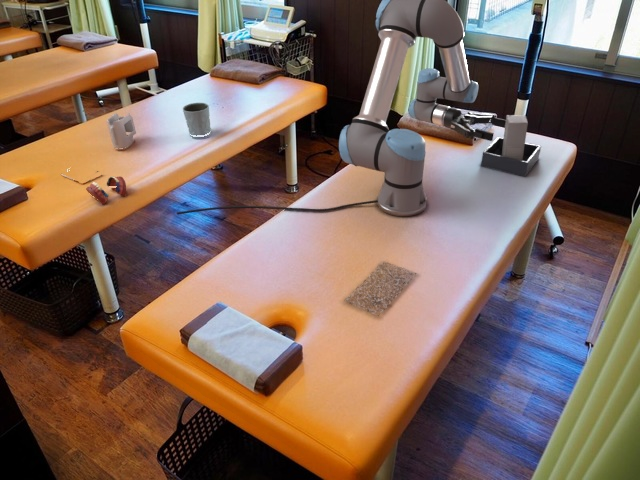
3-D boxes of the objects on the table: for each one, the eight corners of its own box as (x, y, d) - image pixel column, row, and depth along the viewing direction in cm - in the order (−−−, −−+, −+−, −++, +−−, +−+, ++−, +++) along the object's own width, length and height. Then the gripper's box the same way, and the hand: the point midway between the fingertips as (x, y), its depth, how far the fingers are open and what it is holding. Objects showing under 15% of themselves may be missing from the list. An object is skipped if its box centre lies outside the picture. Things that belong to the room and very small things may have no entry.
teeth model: (126, 176, 175) (92, 190, 168) (131, 193, 179) (97, 207, 172) (114, 169, 180) (80, 182, 174) (119, 186, 184) (86, 199, 177)
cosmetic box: (521, 166, 186) (530, 123, 177) (500, 165, 187) (508, 122, 178) (519, 156, 193) (527, 114, 184) (498, 154, 194) (506, 113, 185)
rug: (343, 302, 130) (343, 299, 130) (383, 262, 143) (383, 259, 143) (378, 317, 126) (378, 314, 125) (416, 274, 139) (416, 271, 138)
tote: (524, 176, 182) (528, 162, 179) (480, 166, 189) (482, 152, 186) (538, 159, 192) (541, 146, 189) (495, 150, 200) (498, 136, 196)
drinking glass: (217, 133, 219) (213, 105, 212) (200, 142, 212) (196, 113, 205) (199, 128, 224) (195, 100, 217) (182, 137, 217) (177, 108, 210)
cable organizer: (139, 139, 216) (132, 111, 209) (124, 152, 206) (116, 123, 199) (124, 138, 217) (117, 110, 210) (108, 151, 207) (100, 122, 200)
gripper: (462, 116, 208) (514, 129, 197) (429, 137, 193) (483, 152, 181) (465, 98, 204) (518, 110, 193) (431, 117, 189) (486, 132, 177)
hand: (501, 130), depth 187 cm, fingers open, 13 cm apart
